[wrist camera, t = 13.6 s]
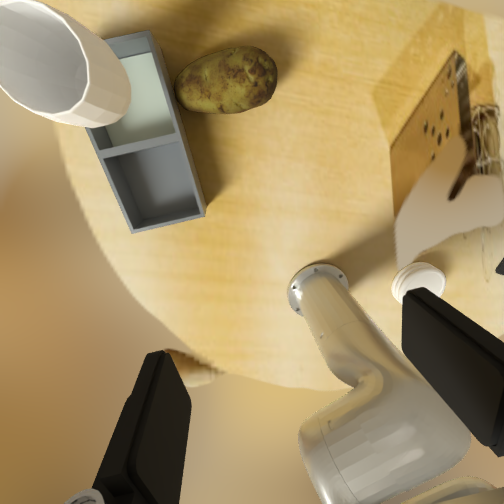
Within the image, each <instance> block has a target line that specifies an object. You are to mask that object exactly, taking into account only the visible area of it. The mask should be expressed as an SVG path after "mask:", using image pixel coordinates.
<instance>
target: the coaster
mask: <svg viewBox="0 0 504 504" xmlns="http://www.w3.org/2000/svg"><path fill="white" fill-rule="evenodd" d="M445 286H446V277H445V275H444V273H443V272H442V271H441V270H439V269H437V268H436V267H434V266H433V265H431V264H429V263H426V262H415V263H412V264H409V265H407V266H406V267H404V268H403V269H401V270H400V271H399V272H398V273H397V275H396V276H395V277H394V279H393V282H392V286H391V291H392V294H393V296H394V298H395V299H396V300H398V301H399V302H400V303H401V304H402V299H403V296H404V295H406V292H407V291H408V290H411V289H415V288H419V287H425V288H427V289H428V290H430V291H431V292H433V293H434V294H435V295H437V296H438V297H440V296H441V295H442V293H443V292H444V290H445Z"/></svg>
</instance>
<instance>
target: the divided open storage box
mask: <svg viewBox="0 0 504 504" xmlns="http://www.w3.org/2000/svg"><path fill="white" fill-rule="evenodd" d="M104 41H105V42H106V43H107V44H108V46H109V47H110V48H111V50H112V51H113V52H114V54H115V55H116V56H117V58H118V59H119V60H120V62H121V63H122V65H123V66H124V68H125V70H126V72H127V75H128V78H129V81H130V84H131V103H130V105H129V108H128V110H127V112H126V114H125V115H124V116H123V117H121V118H120V119H119V120H118V121H117V122H115V123H112V124H109V125H105V126H101V127H96V128H88V127H85V129H86V131H87V133H88V135H89V138H90V140H91V142H92V145H93V147H94V149H95V151H96V154H97V156H98V158H99V161H100V163H101V165H102V167H103V170H104V172H105V174H106V176H107V179H108V181H109V183H110V186H111V188H112V190H113V192H114V195H115V197H116V199H117V201H118V204H119V206H120V208H121V211H122V213H123V215H124V217H125V220H126V222H127V224H128V227H129V229H130V231H131V233H132V234H133V233H137V232H141V231H146V230H150V229H154V228H158V227H163V226H167V225H171V224H175V223H180V222H184V221H188V220H192V219H197V218H201V217H205V214H206V208H207V206H206V202H205V199H204V195H203V192H202V188H201V185H200V181H199V178H198V175H197V171H196V168H195V164H194V161H193V157H192V154H191V150H190V147H189V144H188V140H187V137H186V133H185V130H184V126H183V123H182V119H181V116H180V112H179V109H178V106H177V102H176V99H175V95H174V92H173V88H172V85H171V81H170V78H169V75H168V71H167V68H166V64H165V61H164V57H163V54H162V50H161V47H160V46H159V44H158V43H157V41H156V40H155V38H154V36H153V35H152V33H151V32H150V30H146V31H142V32H137V33H133V34H128V35H124V36H119V37H114V38H110V39H105V40H104Z"/></svg>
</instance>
